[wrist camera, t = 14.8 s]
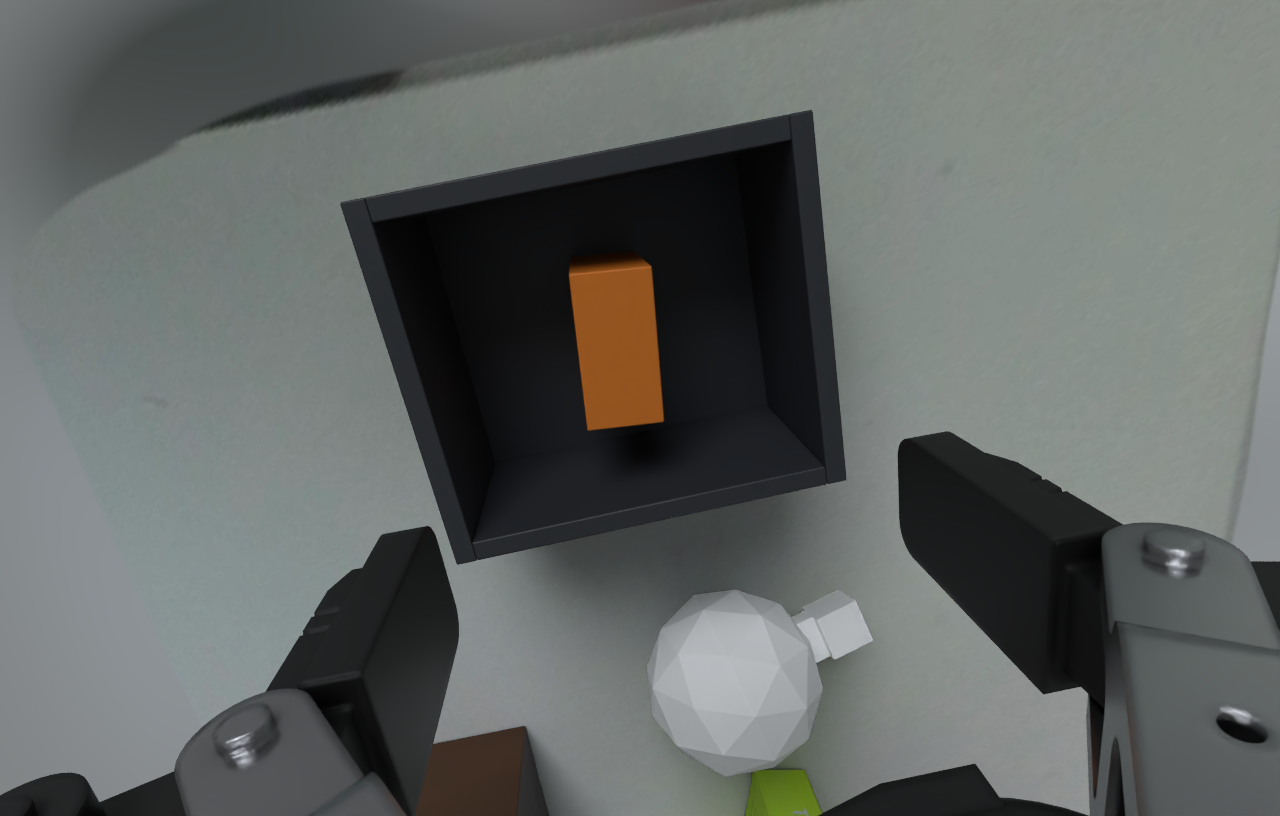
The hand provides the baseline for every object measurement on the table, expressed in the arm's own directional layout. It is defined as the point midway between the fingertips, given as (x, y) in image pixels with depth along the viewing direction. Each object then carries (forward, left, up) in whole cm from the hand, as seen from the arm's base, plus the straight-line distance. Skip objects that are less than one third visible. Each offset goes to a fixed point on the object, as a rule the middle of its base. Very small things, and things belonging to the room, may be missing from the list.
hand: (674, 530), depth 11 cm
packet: (0, 0, -21) cm, 21 cm away
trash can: (0, 0, -22) cm, 22 cm away
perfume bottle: (+16, -11, -22) cm, 30 cm away
